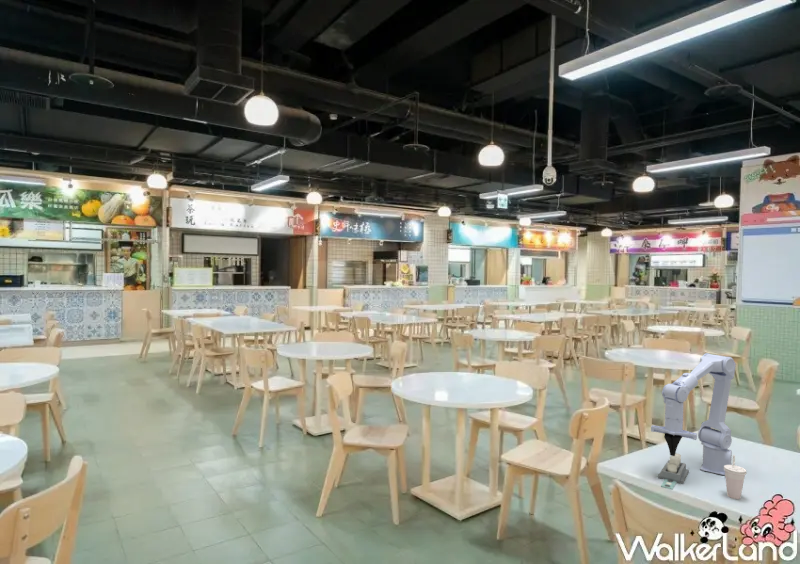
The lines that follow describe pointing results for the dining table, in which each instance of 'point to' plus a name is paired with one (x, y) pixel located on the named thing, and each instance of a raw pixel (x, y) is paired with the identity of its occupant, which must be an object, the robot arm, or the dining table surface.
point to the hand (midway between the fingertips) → (672, 454)
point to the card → (668, 484)
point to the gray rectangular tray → (674, 474)
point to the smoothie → (734, 480)
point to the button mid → (675, 461)
